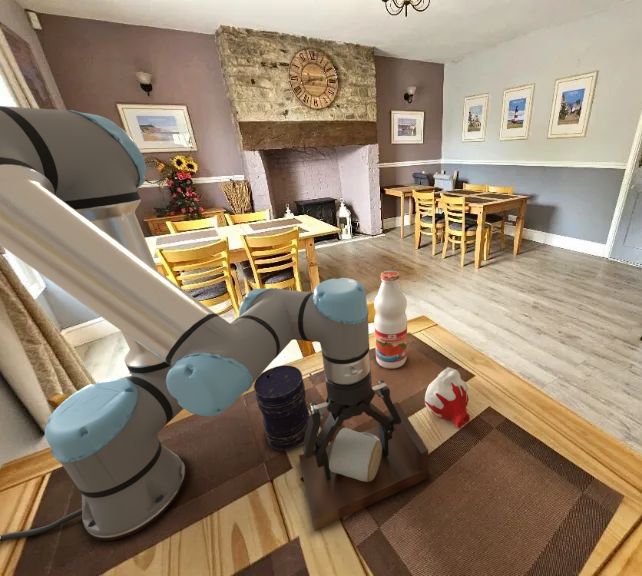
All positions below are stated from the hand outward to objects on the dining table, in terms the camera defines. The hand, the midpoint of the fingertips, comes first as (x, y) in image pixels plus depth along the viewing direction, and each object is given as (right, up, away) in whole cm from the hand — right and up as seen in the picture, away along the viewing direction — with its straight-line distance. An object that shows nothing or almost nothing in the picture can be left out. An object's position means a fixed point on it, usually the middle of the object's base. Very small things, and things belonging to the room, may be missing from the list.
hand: (356, 461), depth 60 cm
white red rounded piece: (+21, +3, +15) cm, 26 cm away
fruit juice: (+7, +12, +34) cm, 37 cm away
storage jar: (-16, +1, +11) cm, 20 cm away
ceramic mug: (0, 0, 0) cm, 1 cm away
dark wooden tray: (+1, -3, +2) cm, 4 cm away
